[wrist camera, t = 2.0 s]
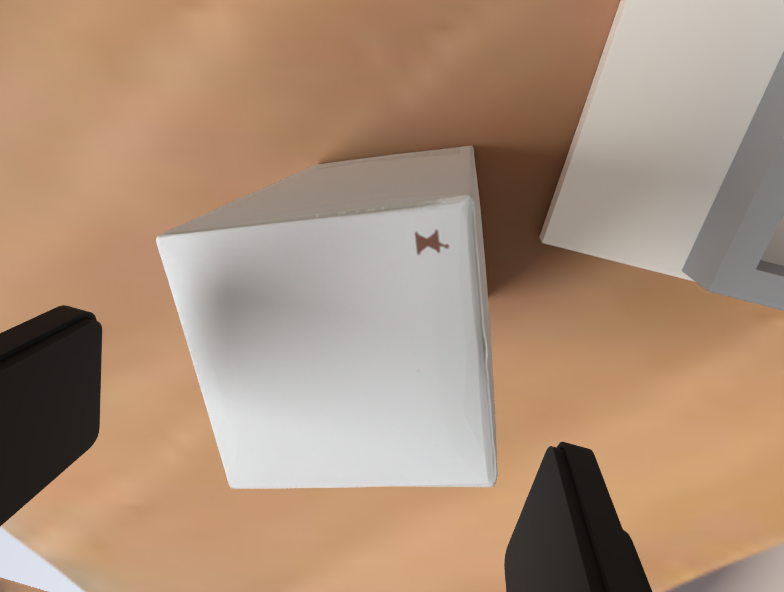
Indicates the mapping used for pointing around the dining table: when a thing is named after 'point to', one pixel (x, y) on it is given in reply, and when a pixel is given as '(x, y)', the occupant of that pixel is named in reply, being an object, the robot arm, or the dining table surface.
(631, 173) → the caddy
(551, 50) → the dining table surface
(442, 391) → the supplement box
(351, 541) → the dining table surface
